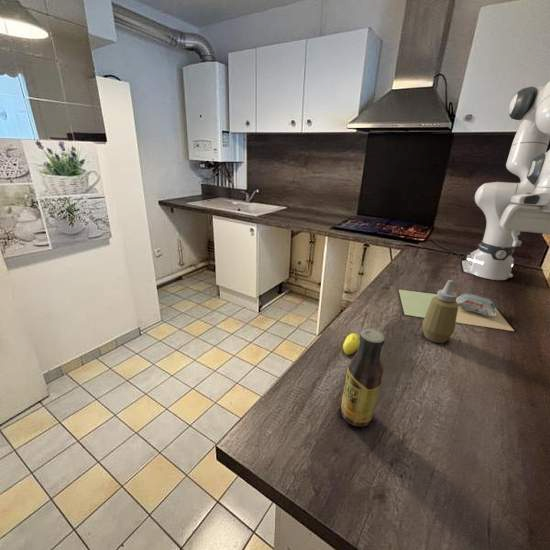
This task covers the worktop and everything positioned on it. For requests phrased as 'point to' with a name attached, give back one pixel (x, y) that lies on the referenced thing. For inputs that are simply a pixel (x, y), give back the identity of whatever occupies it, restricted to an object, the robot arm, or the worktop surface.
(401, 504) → the worktop surface
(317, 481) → the worktop surface
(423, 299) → the mat
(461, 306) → the packaged food
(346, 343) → the lemon
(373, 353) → the sauce bottle
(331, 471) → the worktop surface
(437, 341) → the squeeze bottle
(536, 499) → the worktop surface
